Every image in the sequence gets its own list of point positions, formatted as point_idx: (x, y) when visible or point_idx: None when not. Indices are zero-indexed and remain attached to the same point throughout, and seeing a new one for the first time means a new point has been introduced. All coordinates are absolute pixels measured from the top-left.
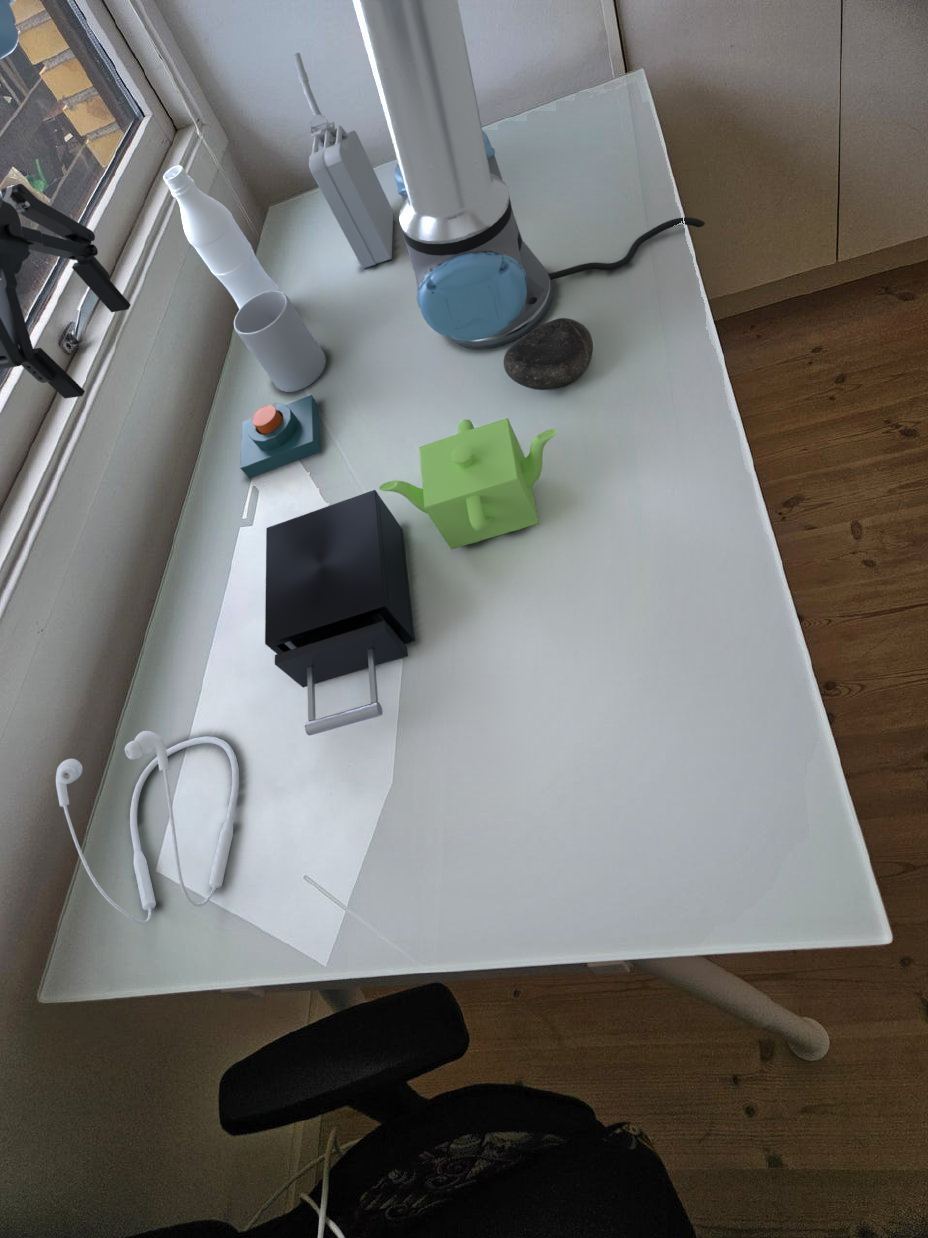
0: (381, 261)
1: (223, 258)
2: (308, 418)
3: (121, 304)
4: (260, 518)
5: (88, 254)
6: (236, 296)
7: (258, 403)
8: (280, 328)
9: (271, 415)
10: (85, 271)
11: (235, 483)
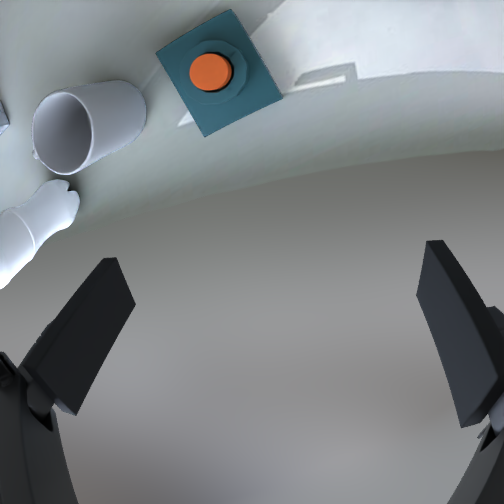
0: (2, 107)
1: (13, 232)
2: (193, 34)
3: (111, 274)
4: (343, 55)
5: (14, 377)
6: (52, 223)
7: (166, 147)
8: (78, 89)
9: (208, 58)
10: (66, 377)
11: (291, 115)
